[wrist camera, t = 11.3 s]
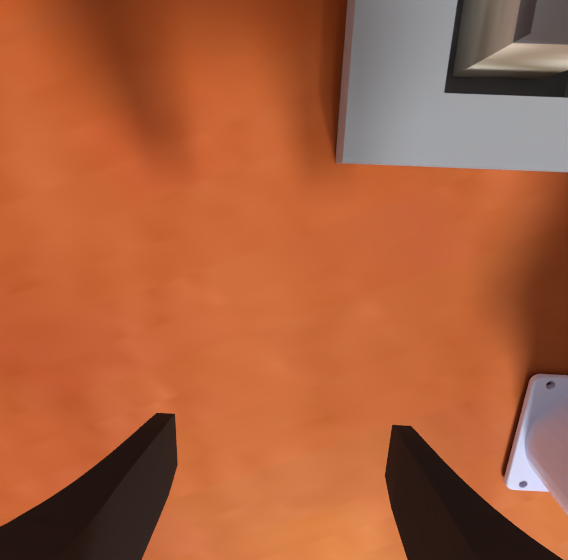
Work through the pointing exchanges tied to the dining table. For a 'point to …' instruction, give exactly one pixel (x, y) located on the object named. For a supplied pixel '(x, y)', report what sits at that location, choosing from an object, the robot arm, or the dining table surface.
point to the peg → (512, 39)
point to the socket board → (439, 97)
